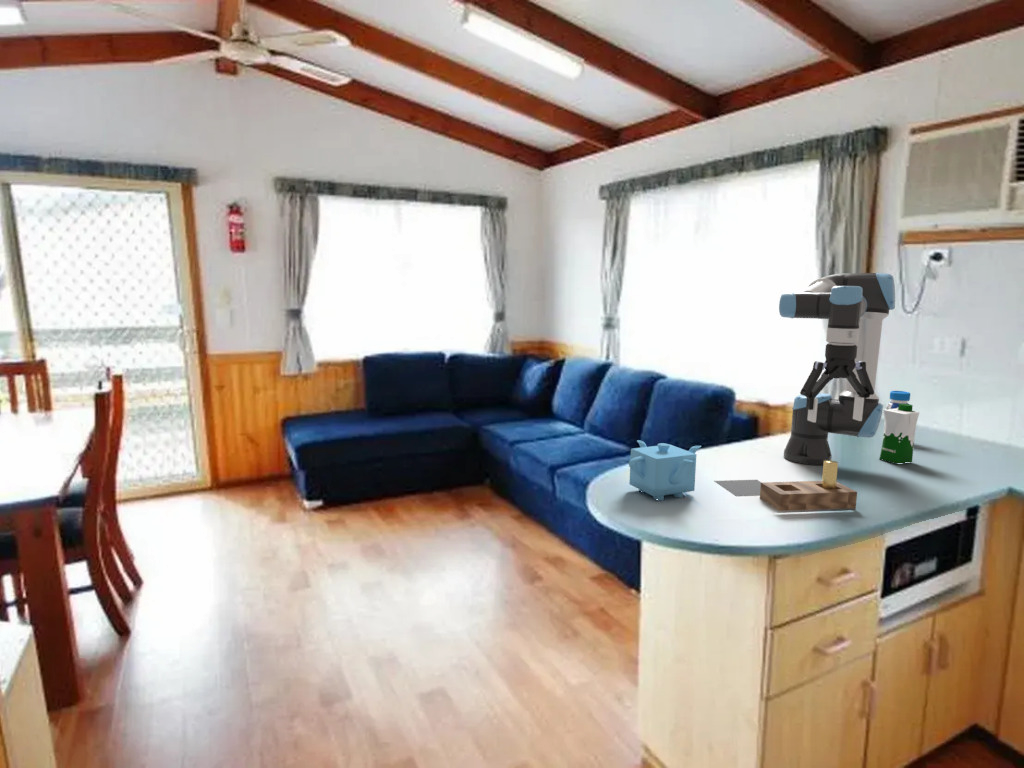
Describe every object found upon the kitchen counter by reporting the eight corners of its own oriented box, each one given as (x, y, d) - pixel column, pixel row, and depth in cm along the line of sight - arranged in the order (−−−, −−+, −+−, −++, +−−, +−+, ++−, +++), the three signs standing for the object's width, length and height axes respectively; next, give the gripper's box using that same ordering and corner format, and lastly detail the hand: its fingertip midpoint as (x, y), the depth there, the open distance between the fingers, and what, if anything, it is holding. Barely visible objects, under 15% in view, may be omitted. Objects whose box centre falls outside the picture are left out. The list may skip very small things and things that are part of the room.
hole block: (831, 497, 174) (833, 480, 173) (855, 509, 164) (857, 491, 163) (759, 499, 171) (760, 482, 170) (779, 512, 161) (780, 494, 160)
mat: (756, 481, 188) (756, 479, 188) (782, 496, 174) (782, 494, 174) (713, 482, 186) (713, 480, 186) (736, 497, 172) (736, 496, 172)
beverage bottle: (886, 437, 246) (891, 389, 243) (910, 441, 240) (916, 392, 237) (879, 441, 240) (884, 391, 237) (903, 445, 234) (909, 394, 231)
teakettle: (623, 499, 170) (625, 448, 168) (635, 480, 187) (637, 433, 185) (693, 508, 163) (696, 455, 161) (698, 487, 181) (701, 439, 178)
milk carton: (916, 463, 210) (923, 406, 207) (898, 465, 206) (905, 408, 203) (891, 456, 218) (898, 402, 215) (874, 459, 214) (880, 403, 211)
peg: (828, 501, 170) (832, 460, 168) (836, 505, 167) (840, 463, 165) (817, 501, 170) (821, 460, 168) (824, 506, 166) (829, 464, 164)
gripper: (807, 345, 158) (800, 425, 162) (894, 344, 161) (885, 422, 165) (790, 342, 165) (784, 418, 169) (874, 341, 169) (866, 416, 172)
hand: (834, 420), depth 167 cm, fingers open, 13 cm apart
